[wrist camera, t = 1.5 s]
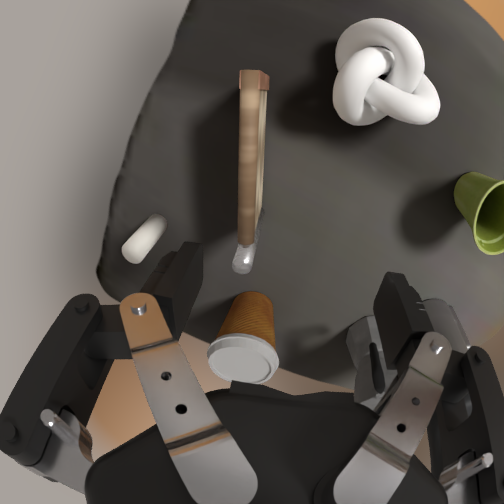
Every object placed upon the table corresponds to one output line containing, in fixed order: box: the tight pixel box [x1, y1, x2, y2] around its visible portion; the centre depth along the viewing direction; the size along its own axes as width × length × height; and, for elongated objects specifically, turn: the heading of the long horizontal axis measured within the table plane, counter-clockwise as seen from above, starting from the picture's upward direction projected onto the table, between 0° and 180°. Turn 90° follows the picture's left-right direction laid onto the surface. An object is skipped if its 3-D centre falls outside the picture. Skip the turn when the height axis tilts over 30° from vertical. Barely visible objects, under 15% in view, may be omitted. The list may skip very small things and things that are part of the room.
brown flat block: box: [238, 70, 269, 245], centre depth 27 cm, size 16×2×10 cm, turn 178°
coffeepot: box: [346, 315, 398, 410], centre depth 37 cm, size 15×9×18 cm, turn 25°
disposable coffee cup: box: [207, 291, 279, 384], centre depth 40 cm, size 10×10×12 cm
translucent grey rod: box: [232, 208, 264, 274], centre depth 32 cm, size 2×2×12 cm
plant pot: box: [454, 172, 504, 255], centre depth 27 cm, size 9×9×9 cm
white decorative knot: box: [333, 18, 440, 126], centre depth 22 cm, size 11×12×9 cm
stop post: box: [122, 214, 167, 264], centre depth 36 cm, size 3×3×8 cm
